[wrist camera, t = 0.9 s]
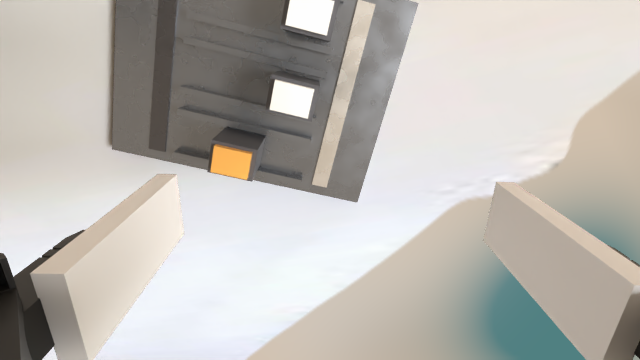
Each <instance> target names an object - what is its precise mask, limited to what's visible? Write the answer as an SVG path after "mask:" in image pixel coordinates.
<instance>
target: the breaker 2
mask: <svg viewBox="0 0 640 360" xmlns="http://www.w3.org/2000/svg"><path fill="white" fill-rule="evenodd" d="M339 3H340V0H285V4H284V9H283V15H282V20H281V26H280V28H281V29H283V30H285V31H287V32H291V33H295V34H299V35H303V36H306V37H310V38H314V39H318V40H322V41H326V42H330V41H331V37H332V33H333V29H334V24H335V20H336V16H337V11H338V7H339Z"/></svg>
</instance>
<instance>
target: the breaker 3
mask: <svg viewBox="0 0 640 360" xmlns="http://www.w3.org/2000/svg"><path fill="white" fill-rule="evenodd" d="M319 88H320V81H318V80H314V79H310V78H306V77H302V76H298V75H294V74H290V73H286V72H282V71H276V72H275V73H273V74H272V75H271V80H270V86H269V91H268V97H267V102H266V108H265V111H268V112H272V113H276V114H281V115H285V116H289V117H293V118H297V119H302V120H306V121H310V122H312V118H313V114H314V110H315V106H316V101H317V97H318V93H319Z"/></svg>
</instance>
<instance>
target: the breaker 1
mask: <svg viewBox="0 0 640 360" xmlns="http://www.w3.org/2000/svg"><path fill="white" fill-rule="evenodd" d="M265 137H266V136H262V135H258V134H253V133H249V132H245V131H240V130H236V129H231V128H227V127H226V128H224V129H223V130H222V131H221V132H220V133H219V134H218V135H217V136H215V137H214V138H213V139H212V141H211V148H210V156H209V164H208V171H207V172H211V173H215V174H220V175H224V176H229V177H234V178H238V179H243V180H247V181H252V180H253V178H254V176H255V174H256V172H257V170H258V168H259V166H260V164H261V158H262V153H263V148H264V142H265Z"/></svg>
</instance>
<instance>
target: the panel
mask: <svg viewBox="0 0 640 360" xmlns="http://www.w3.org/2000/svg"><path fill="white" fill-rule="evenodd" d="M284 4H285V0H116V16H115V54H114V92H113V131H112V149H114V150H118V151H123V152H127V153H132V154H137V155H141V156H146V157H150V158H155V159H160V160H164V161H169V162H173V163H178V164H183V165H187V166H192V167H196V168H201V169H206V170H208V164H209V156H210V148H211V141H212V139H213V138H214V137H215V136H217V135H218V134H219V133H220V132H221V131H222V130H223V129H224V128H226V127H227V128H231V129H236V130H240V131H245V132H249V133H253V134H258V135H262V136H266V137H265V142H264V148H263V153H262V158H261V164H260V166H259V168H258V170H257V172H256V174H255V176H254V178H253V180H256V181H261V182H265V183H270V184H274V185H279V186H284V187H288V188H293V189H297V190H302V191H307V192H311V193H316V194H320V195H325V196H330V197H334V198H339V199H343V200H348V201H353V202H357V201H358V198H359V195H360V192H361V188H362V185H363V182H364V179H365V175H366V172H367V169H368V166H369V162H370V159H371V156H372V153H373V149H374V146H375V143H376V140H377V136H378V133H379V130H380V127H381V123H382V120H383V117H384V114H385V110H386V107H387V104H388V101H389V97H390V94H391V91H392V88H393V84H394V81H395V78H396V74H397V71H398V68H399V65H400V61H401V58H402V55H403V52H404V48H405V45H406V42H407V39H408V35H409V32H410V29H411V26H412V22H413V19H414V16H415V13H416V9H417V6H418V3H416V2H412V1H409V0H340V3H339V7H338V11H337V16H336V20H335V24H334V29H333V33H332V37H331V41H330V42H326V41H322V40H318V39H314V38H310V37H306V36H303V35H299V34H295V33H291V32H287V31H285V30H283V29H281V28H280V26H281V20H282V15H283V9H284ZM276 71H282V72H286V73H290V74H294V75H298V76H302V77H306V78H310V79H314V80H318V81H320V88H319V93H318V97H317V101H316V106H315V110H314V114H313V118H312V122H310V121H306V120H302V119H297V118H293V117H289V116H285V115H281V114H276V113H272V112H268V111H265V108H266V102H267V97H268V91H269V86H270V80H271V75H272V74H273V73H275V72H276Z"/></svg>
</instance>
